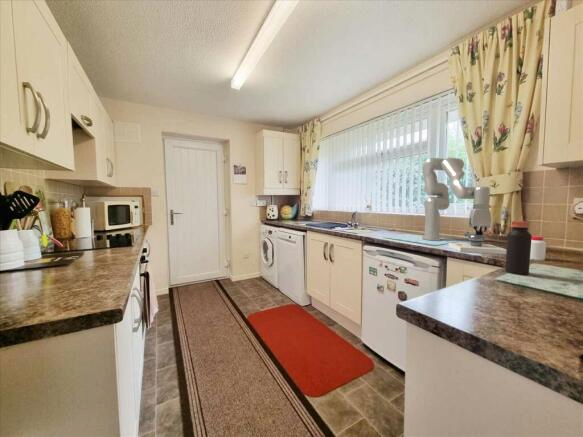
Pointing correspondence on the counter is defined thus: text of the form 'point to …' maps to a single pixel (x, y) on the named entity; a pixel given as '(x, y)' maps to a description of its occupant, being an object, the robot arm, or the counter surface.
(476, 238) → the grey elongated shape
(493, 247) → the plate
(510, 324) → the counter surface
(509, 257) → the vinegar
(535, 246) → the pill bottle
